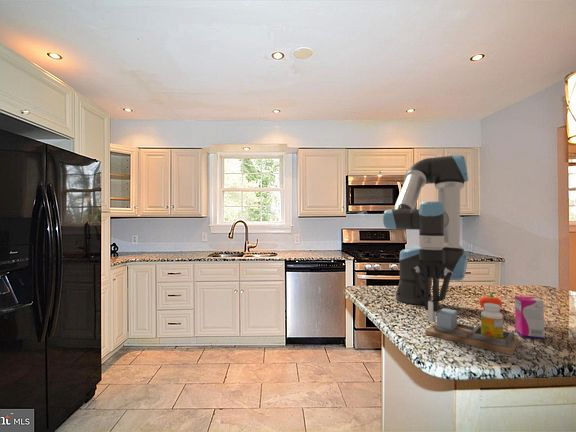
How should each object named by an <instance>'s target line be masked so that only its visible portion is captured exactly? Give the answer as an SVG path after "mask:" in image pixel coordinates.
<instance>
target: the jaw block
mask: <svg viewBox="0 0 576 432" xmlns="http://www.w3.org/2000/svg"><path fill="white" fill-rule="evenodd" d="M436 322H437V327H438V328H443V329H447V330H452V331H453V330H454V329H455V328H456V327H457V323H458V310H456V309H450V308H442V309H439V310H438V311H437V312H436Z"/></svg>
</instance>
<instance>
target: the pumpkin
mask: <svg viewBox="0 0 576 432" xmlns="http://www.w3.org/2000/svg"><path fill="white" fill-rule="evenodd" d="M478 301H479V302H478V303H479V305H480V306H481V307H482V308H483V309H484V303H493V304H497V305H500V309H502V306H503V302H502V300H501V299H500V298H499V297H497V296H496V297H495V296H494V294H493V293H492V292H491V293H489V296H482V297H480V299H479V300H478Z"/></svg>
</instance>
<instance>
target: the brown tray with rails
mask: <svg viewBox="0 0 576 432" xmlns="http://www.w3.org/2000/svg"><path fill="white" fill-rule="evenodd" d="M425 335H427V336H431V337H435V338H439V339H443V338H444V340H447V339H448V341H451V340H452V342H455V341H456V343H459V342H460V344H465V345H467V346H468V345H469V346H473V347H476V348H481V349H485V350H489V351H494V352H498V353H500V354H507V355H510V356H513V355H514V353H515V350H516V348H517V345H518V342H519V336H515V332H513V331H512V332H511V331H506V330H503V339H498V338H493V337H489V336H484V335H481V325H477V324H476V325H474V326H473V325H471V324H470V325H468V324H465V323H460V322H457V327H456V328H455V329H454V330H453V331H452V330H447V329H443V328H438V327H437V321H436V322H433V324H432V325H430V326H429V327H428V328H427V329H425Z"/></svg>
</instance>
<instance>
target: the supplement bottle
mask: <svg viewBox="0 0 576 432" xmlns="http://www.w3.org/2000/svg"><path fill="white" fill-rule="evenodd" d="M483 309H484V310H482V311H481V312H480V326H481V335H484V336H489V337H493V338H498V339H503V331H504V315H503V314H502V313H501V312H500V311H501V308H500V305H497V304H493V303H484V308H483Z"/></svg>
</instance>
